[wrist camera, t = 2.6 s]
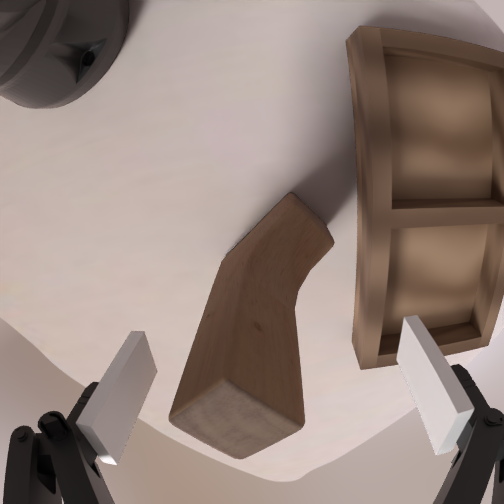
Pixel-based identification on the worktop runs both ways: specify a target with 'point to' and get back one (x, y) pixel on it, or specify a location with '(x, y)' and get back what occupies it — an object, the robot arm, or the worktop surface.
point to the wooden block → (252, 338)
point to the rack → (426, 190)
